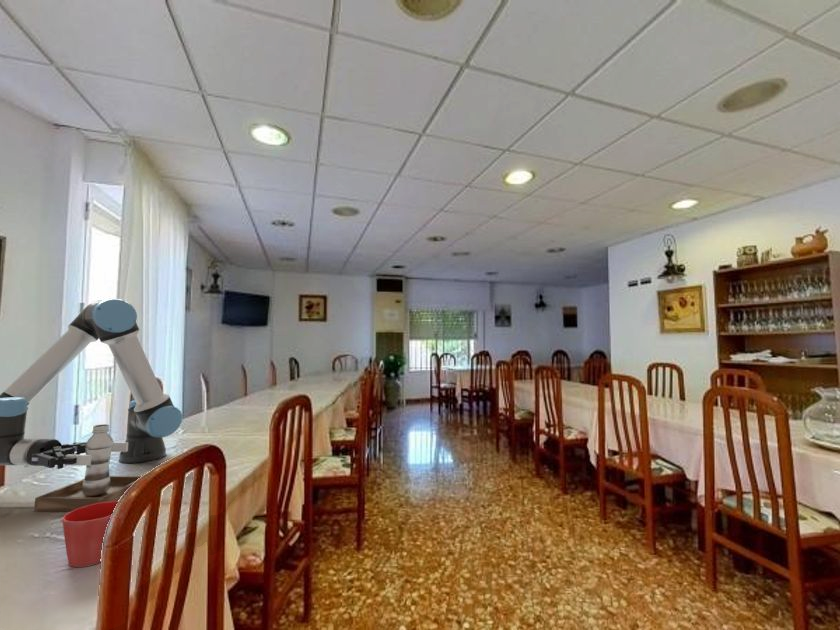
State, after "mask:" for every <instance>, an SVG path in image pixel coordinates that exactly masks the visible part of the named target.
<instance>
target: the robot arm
mask: <svg viewBox="0 0 840 630" xmlns="http://www.w3.org/2000/svg"><path fill="white" fill-rule="evenodd" d="M137 318H138V314H137V311H136V309H135V307H134V306H133V305H132V304H131V303H129V302H128V301H126V300H123V299H120V298H112V297H111V298H105V299H101V300H96V301H93V302H91V303H89V304H88V305H86V306H85V307H84V308H83V310H82V311H81V312H80V313H79V314H78V315H76V317H75V318H74V319H73V320H72V321H71V322H70V324H68V325H67V331H65V332H64V333H63V334H62V335H61V336H60V337H59V338H58V339H57V340H56V341H55V342H54V343H53V344H52V345H51V346H50V347H49V348H48V349H47V350H45V352H43V353H42V354H41V355H40V356H39V357H38V358H37V359H36V360H35V361H34V362H33V363H31V365H29V367H28V368H27V369H26V370H25V371H23V373H21V374H20V375H19V376H18V377H17V378H16V379H15V380H14V381H13V382H12V383H11V384H10V385H8V387H7V388H5V389H4V390H3V392H2V393H1V394H0V466H24V468H29V466H32V467H33V466H34V467H46V468H49V469H54V468H55V467H56V466H57V467H56V468H57V470H59V469H63V468H64V466H89V465H91V455H86V450H85V445H86V442H87V441H85V442H83V441H81V442H76V441H75V442H72V444H69V443H63V444H62V443H61V442H60V441H59V440H58V439H55V438H25V433H26V432H25V430H26V422H27V414H28V410H29V407H28V406H29V405H30V403H31V402H32V401H33V400H34V399H35V398H37V396H38V395H39V394H40V393H42V392H43V390H44V389H45V388H46V387H47V386H48V385H49V384H50V383H51V382H52V381H54V379H56V378H57V376H58V375H59V374H61V372H62V371H64V369H66V367H67V366H69V365H70V363H72V361H74V359H75V358H77V356H79V354H80V353H81V352H83V350H84V349H85V348H86V347H87V346H88V345H90V343H94V342H97V341H98V340H99V341H100V343H103V344H106V345H107V346H108V347H109V349H110V351H111V353H112V356H113V358H114V360H115V362H116V364H117V366H118V368H119V371H120V373H121V375H122V377H123V379H124V381H125V382H126V385H127V387H128V389H129V391H130V393H131V395H132V397H133V399H134V400H131V401H130V402H129V404H128V408H127V411H128V413H127V427H126V439H125V441H121V442H119V441H113V447H112V451H111V453H112V452H113V453H116V452H117V453H119V455H118V456H119V457H118V461H119V462H121V463H123V464H124V463H127V464H133V463H136V464H137V463H144V462H145V463H146V462H151V461H154V459H155V460H159V459H161V458H163V456H164V457H165V456H166V454H167V448H166V445H165V444H166V443H165V441H164V438H166V437H169V436H171V435H172V434H174V433H176V432H177V431H178V429H179V428H180V427H181V424H182V422H183V413H182V411H181V410H180V408H178V407H176V406H175V405H174V403H173V401H172V398H171V396H170V395H169V394H167V393H164V392H163V390H162V389H161V386H160V384H159V381H158V379H157V376H156V375H155V373H154V371H153V369H152V366H151V364H150V362H149V359H148V357H147V355H146V354H145V351H144V348H143V345H142V344H141V341H140V340H139V337H138V334H139V332H140V327H139V326H138V324H137V320H138V319H137ZM75 452H76V453H75ZM160 457H161V458H160ZM158 458H159V459H158ZM150 460H151V461H150Z"/></svg>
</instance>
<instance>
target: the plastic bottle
mask: <svg viewBox="0 0 840 630" xmlns="http://www.w3.org/2000/svg"><path fill="white" fill-rule="evenodd" d="M109 428H110V424H107V423H106V424H103V423H102V424H97V425H94V426H93V427H92V435H91V436H90V437H89V439H88V440H86V441H85V442H86V445H85V450H86V453H85V455H91V465H89V466H86V467H85V471H84V472H85V473H84V478H83V479H84V481H83V484H82V493H83V495H84V496H97V495H101V494H104V493H106V492H107V491H108V490H109V488H110V485H111V481H110V476H111V474H110V462H111V454H112V452H111V451H112V447H113V442H114V440H113V438H112V436H111V435H110V434H109V433H108V432H110V429H109Z"/></svg>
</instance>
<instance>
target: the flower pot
mask: <svg viewBox="0 0 840 630" xmlns="http://www.w3.org/2000/svg"><path fill="white" fill-rule="evenodd" d="M117 503H118V501H110V502H102V503H96V504H92V505H88V506H84V507H81V508H78V509H75V510H73V511H71V512H66V514H64V515H63V517H62V518H61V519H62V522H61V523H62V527H63V529H62V531H63V536H64V543H65V549H66V550H65V551H66V556H67V563H68V565H69V566H71V567H75V568H84V567H90V566H93V565H96V564H100V563H101V562H100V559H101V550H102V543H103V537H104V534H105V530H106V527H107V524H108V522H109V520H110V517H111V514H112V513H113V510H114V508H115V506H116V504H117Z"/></svg>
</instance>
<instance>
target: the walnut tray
mask: <svg viewBox="0 0 840 630" xmlns="http://www.w3.org/2000/svg"><path fill="white" fill-rule="evenodd" d="M141 476H142V475H110V481H111V485H110V488H109V490H108V491H107V492H106V493H104V494H101V495H97V496H84V495H83V493H82V484H83V481H84V478H82V479H79V480H76V481H75V482H72V483H70V484H67V485H63V486H62V487H60V488H59V487H58V488H57V489H55V490H52V491H50V492H47V493H44V494H42V495H40V496H36V497H34V506H33V507H34V508H33V512H42V513H43V512H45V513H46V512H48V513H49V512H50V513H51V512H52V513H53V512H54V513H55V512H56V513H69V512H71V511H73V510H75V509H78V508H81V507H84V506H88V505H92V504H96V503H102V502H110V501H118V500H119V499H120V497H121V496H122V495H123V494H124V492H125V491H126V490H127V489H128V488H129V487H130V486H131V485H132V484H133V483H134V482H135V481H136V480H137V479H138V478H140V477H141Z"/></svg>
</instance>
